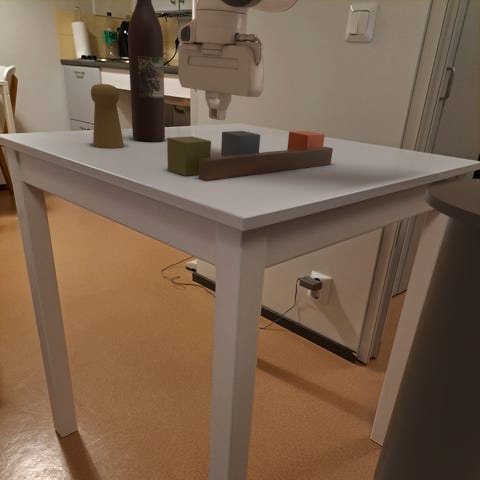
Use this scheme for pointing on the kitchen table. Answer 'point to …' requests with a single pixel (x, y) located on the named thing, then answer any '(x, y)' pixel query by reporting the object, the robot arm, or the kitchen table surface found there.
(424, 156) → the kitchen table surface
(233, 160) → the straightedge
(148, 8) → the wine bottle
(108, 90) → the cork
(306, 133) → the terracotta block
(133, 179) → the kitchen table surface
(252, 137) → the slate-blue block
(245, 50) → the robot arm
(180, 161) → the olive block
